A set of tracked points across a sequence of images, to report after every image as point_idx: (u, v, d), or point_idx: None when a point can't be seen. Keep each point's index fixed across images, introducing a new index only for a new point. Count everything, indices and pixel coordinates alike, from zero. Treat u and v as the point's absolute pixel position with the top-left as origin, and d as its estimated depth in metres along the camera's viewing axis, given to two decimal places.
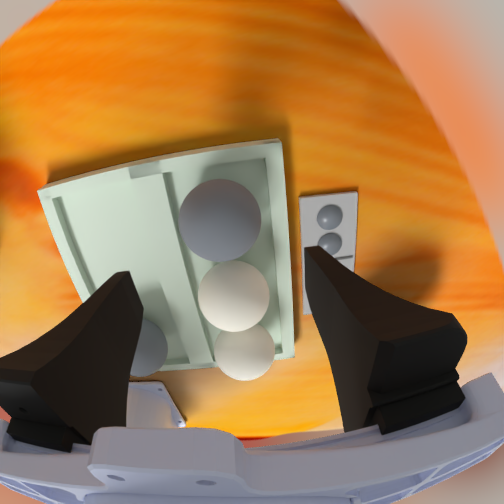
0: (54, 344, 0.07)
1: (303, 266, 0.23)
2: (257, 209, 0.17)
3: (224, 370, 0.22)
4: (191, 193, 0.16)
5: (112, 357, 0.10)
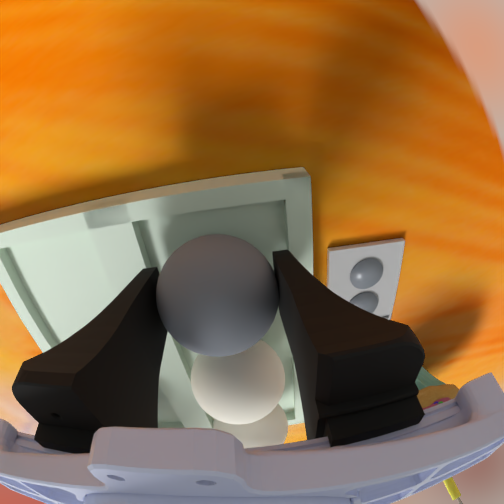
0: (89, 343, 0.07)
1: None
2: (274, 285, 0.11)
3: None
4: (172, 261, 0.11)
5: (144, 356, 0.10)
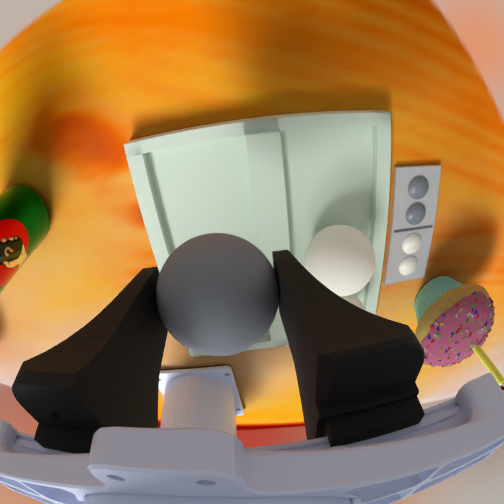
0: (89, 343, 0.07)
1: (392, 234, 0.22)
2: (274, 284, 0.11)
3: None
4: (172, 260, 0.11)
5: (144, 356, 0.10)
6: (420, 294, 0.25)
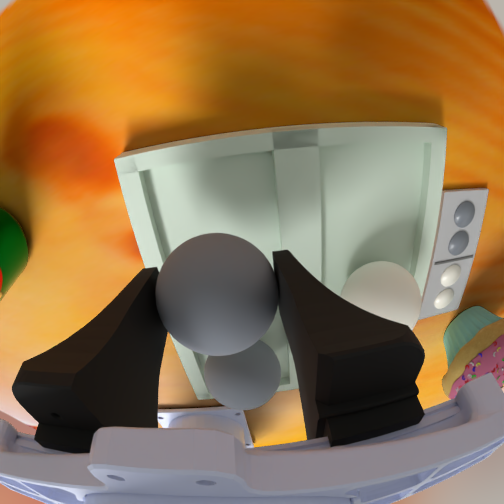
0: (89, 343, 0.07)
1: (432, 267, 0.18)
2: (274, 284, 0.11)
3: None
4: (172, 260, 0.11)
5: (144, 356, 0.10)
6: (452, 326, 0.22)
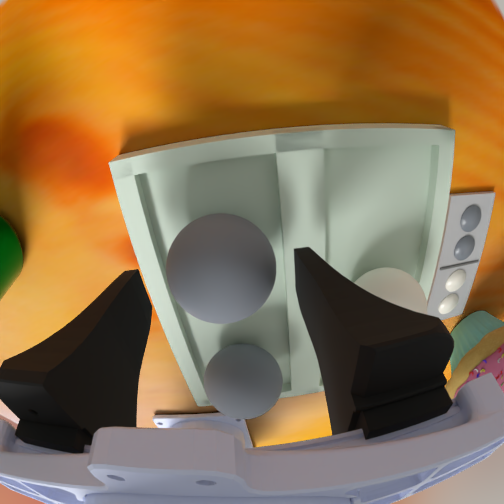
0: (65, 344, 0.07)
1: (437, 272, 0.18)
2: (272, 255, 0.13)
3: None
4: (182, 236, 0.12)
5: (122, 357, 0.10)
6: (455, 331, 0.21)
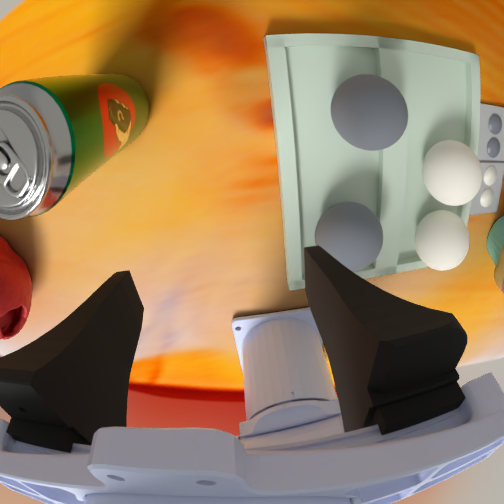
0: (54, 344, 0.07)
1: None
2: None
3: (437, 255, 0.20)
4: (361, 80, 0.14)
5: (112, 357, 0.10)
6: (493, 229, 0.24)
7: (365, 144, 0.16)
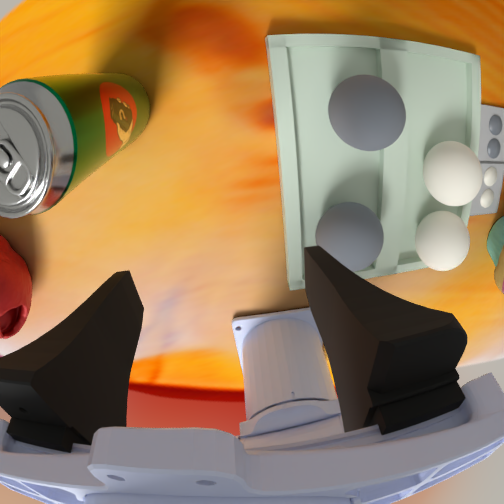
0: (54, 344, 0.07)
1: None
2: None
3: (438, 255, 0.20)
4: (356, 80, 0.14)
5: (112, 357, 0.10)
6: (493, 230, 0.24)
7: (360, 144, 0.16)
